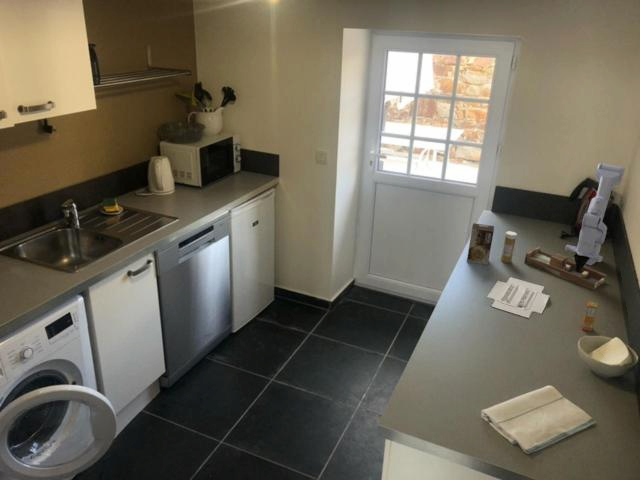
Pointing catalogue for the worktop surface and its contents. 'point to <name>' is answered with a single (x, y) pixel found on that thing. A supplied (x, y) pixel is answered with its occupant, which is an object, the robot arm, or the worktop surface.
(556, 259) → the walnut block
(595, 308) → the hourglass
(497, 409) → the worktop surface
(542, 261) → the brown wooden open box
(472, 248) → the coffee box
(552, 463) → the worktop surface
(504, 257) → the sprinkles bottle
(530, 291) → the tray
